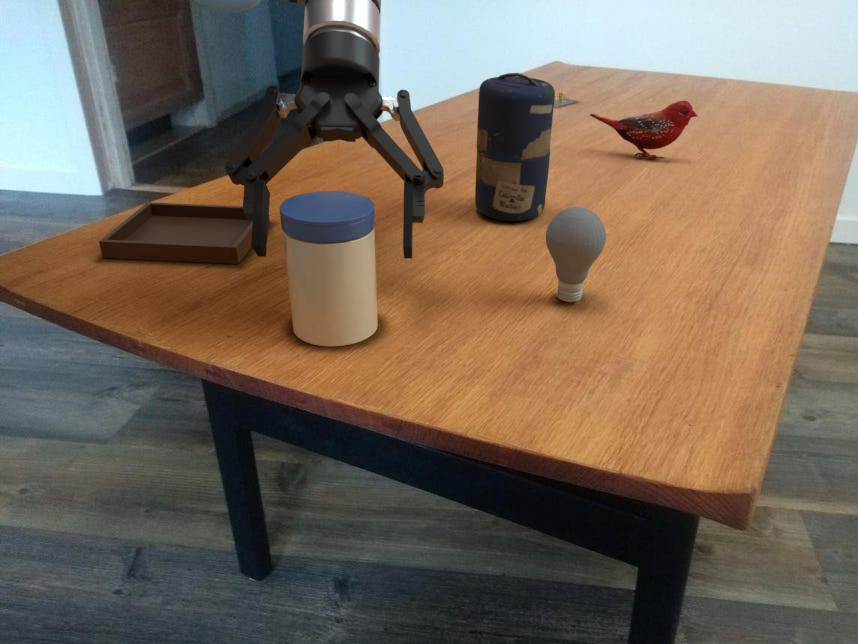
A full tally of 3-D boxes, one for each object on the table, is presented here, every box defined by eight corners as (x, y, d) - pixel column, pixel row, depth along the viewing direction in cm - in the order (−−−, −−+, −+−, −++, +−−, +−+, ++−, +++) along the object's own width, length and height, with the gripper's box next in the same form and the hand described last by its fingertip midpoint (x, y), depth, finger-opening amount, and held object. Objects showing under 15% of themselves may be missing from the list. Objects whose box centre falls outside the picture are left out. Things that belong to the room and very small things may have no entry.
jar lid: (269, 240, 63) (267, 219, 62) (293, 207, 70) (291, 188, 69) (367, 244, 63) (366, 224, 62) (381, 211, 70) (380, 192, 69)
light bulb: (552, 283, 82) (561, 194, 77) (605, 295, 80) (617, 205, 75) (531, 304, 77) (539, 211, 72) (586, 318, 75) (598, 223, 70)
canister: (510, 197, 107) (518, 63, 98) (559, 215, 101) (572, 75, 92) (459, 210, 101) (463, 70, 92) (508, 231, 95) (517, 83, 86)
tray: (102, 258, 83) (98, 241, 82) (150, 217, 95) (147, 202, 94) (238, 264, 83) (236, 247, 82) (270, 222, 95) (268, 207, 94)
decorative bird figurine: (688, 166, 124) (699, 103, 119) (583, 152, 129) (590, 92, 124) (690, 161, 126) (701, 100, 121) (587, 148, 131) (594, 89, 126)
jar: (283, 344, 68) (270, 225, 62) (303, 305, 75) (293, 194, 69) (371, 348, 68) (366, 229, 62) (383, 309, 75) (379, 198, 69)
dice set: (534, 100, 164) (535, 91, 163) (548, 97, 168) (549, 88, 167) (553, 104, 161) (554, 95, 160) (567, 101, 165) (567, 92, 164)
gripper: (465, 78, 79) (467, 268, 73) (223, 72, 77) (207, 265, 72) (468, 30, 71) (470, 237, 66) (201, 22, 70) (182, 233, 65)
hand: (333, 252), depth 69 cm, fingers open, 13 cm apart
